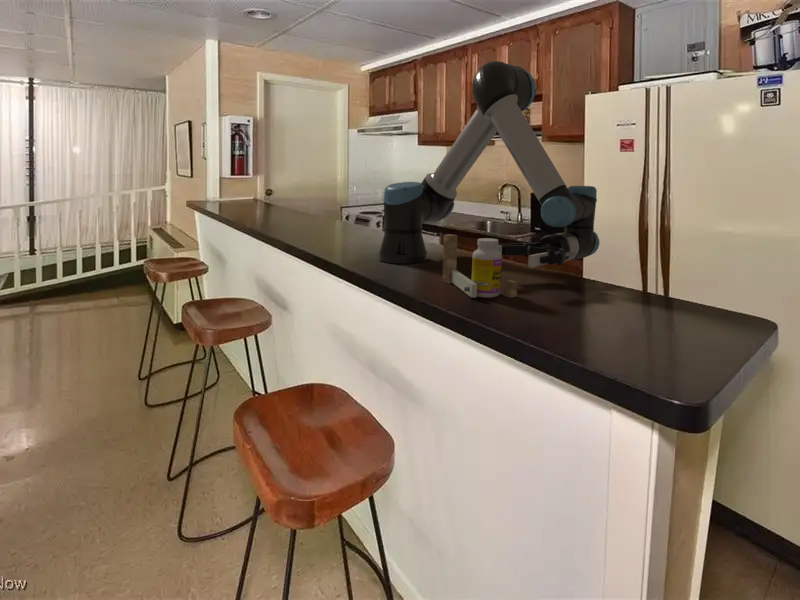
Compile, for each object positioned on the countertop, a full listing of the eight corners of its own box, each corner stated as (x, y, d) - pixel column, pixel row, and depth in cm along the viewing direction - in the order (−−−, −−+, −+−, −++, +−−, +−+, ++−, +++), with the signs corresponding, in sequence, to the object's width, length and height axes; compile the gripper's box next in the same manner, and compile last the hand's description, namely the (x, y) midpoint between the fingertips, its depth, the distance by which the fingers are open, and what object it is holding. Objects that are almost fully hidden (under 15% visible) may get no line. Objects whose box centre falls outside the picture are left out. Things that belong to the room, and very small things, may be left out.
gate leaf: (447, 282, 135) (448, 270, 134) (456, 281, 135) (456, 270, 134) (467, 297, 119) (467, 284, 118) (476, 297, 120) (477, 284, 119)
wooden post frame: (442, 281, 136) (443, 235, 133) (449, 280, 138) (450, 234, 135) (510, 297, 121) (513, 245, 118) (516, 296, 122) (520, 244, 119)
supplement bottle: (493, 299, 119) (496, 242, 116) (466, 295, 123) (468, 240, 119) (504, 293, 125) (507, 238, 122) (477, 290, 128) (480, 236, 125)
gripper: (600, 269, 131) (549, 281, 118) (517, 256, 150) (466, 265, 136) (603, 239, 129) (552, 248, 116) (519, 229, 148) (467, 236, 134)
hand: (505, 257), depth 126 cm, fingers open, 13 cm apart
